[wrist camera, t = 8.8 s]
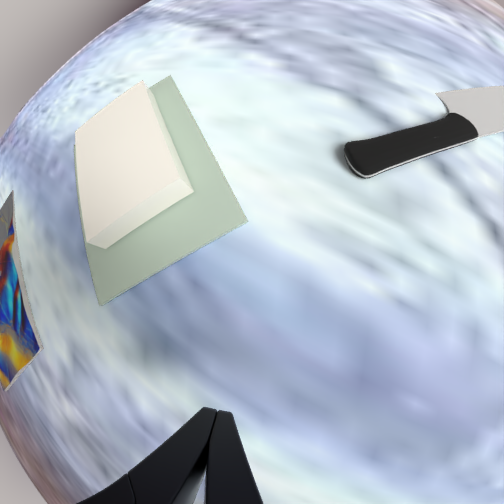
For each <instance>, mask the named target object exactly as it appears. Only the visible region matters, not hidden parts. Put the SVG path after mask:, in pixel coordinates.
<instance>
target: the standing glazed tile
mask: <svg viewBox="0 0 504 504" xmlns="http://www.w3.org/2000/svg"><path fill="white" fill-rule="evenodd" d="M75 145H76V164H77V177H78V187H79V196H80V204H81V211H82V218H83V225H84V230H85V236H86V242H87V243H90V244H92V245H95V246H98V247H101V248H104V249H107V248H108V247H110V246H111V245H112V244H114V243H115V242H117V241H118V240H120V239H121V238H122V237H124V236H125V235H127V234H128V233H130V232H131V231H133V230H134V229H136V228H137V227H139V226H140V225H142V224H143V223H145V222H146V221H148V220H149V219H151V218H152V217H154V216H156V215H157V214H159V213H160V212H162V211H163V210H165V209H167V208H168V207H170V206H171V205H173V204H175V203H176V202H178V201H179V200H181V199H183V198H184V197H186V196H188V195H189V194H191V193H193V192H194V190H193V188H192V186H191V184H190V181H189V179H188V177H187V174H186V172H185V170H184V167H183V165H182V163H181V160H180V158H179V156H178V153H177V151H176V148H175V146H174V144H173V141H172V139H171V136H170V134H169V132H168V129H167V127H166V124H165V122H164V119H163V117H162V115H161V112H160V110H159V107H158V105H157V102H156V100H155V97H154V95H153V93H152V92H151V90H150V89H149V88H148V87H147V85H146V84H145V83H144V81H143V80H142V81H141V82H139V83H138V84H136V85H135V86H133V87H132V88H130V89H129V90H127V91H126V92H124V93H123V94H122V95H120V96H119V97H117V98H116V99H115V100H113V101H112V102H111V103H109V104H108V105H107V106H105V107H104V108H103V109H102V110H100V111H99V112H98V113H97V114H95V115H94V116H93V117H92V118H90V119H89V120H88V121H87V122H86V123H84V124H83V125H82V126H81V127H80V128H79V129H78V130H76V131H75Z"/></svg>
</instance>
